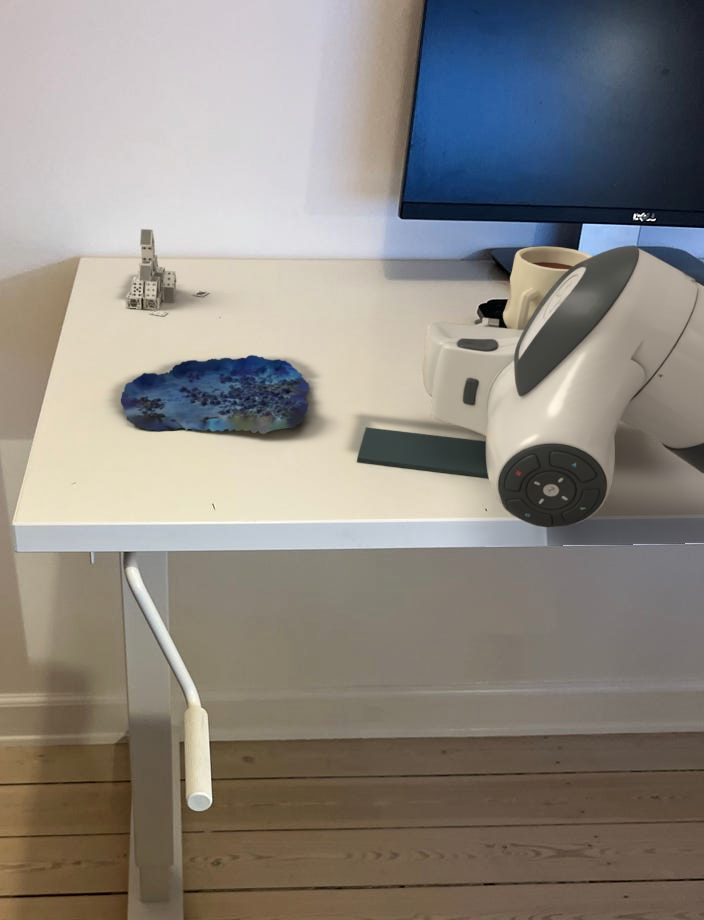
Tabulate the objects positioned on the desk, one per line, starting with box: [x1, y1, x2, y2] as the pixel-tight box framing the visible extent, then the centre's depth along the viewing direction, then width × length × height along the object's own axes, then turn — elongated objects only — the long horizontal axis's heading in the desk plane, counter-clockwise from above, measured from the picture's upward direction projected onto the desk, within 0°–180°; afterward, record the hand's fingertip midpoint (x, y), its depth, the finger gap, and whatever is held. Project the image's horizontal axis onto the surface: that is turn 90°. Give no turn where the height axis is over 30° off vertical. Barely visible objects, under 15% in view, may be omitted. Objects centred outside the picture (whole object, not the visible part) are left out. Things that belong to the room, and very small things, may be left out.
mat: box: [356, 426, 489, 479], centre depth 84 cm, size 14×6×1 cm, turn 77°
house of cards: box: [125, 228, 210, 317], centre depth 111 cm, size 9×9×8 cm
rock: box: [120, 354, 310, 435], centre depth 92 cm, size 15×17×2 cm
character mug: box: [502, 245, 594, 330], centre depth 90 cm, size 11×7×13 cm, turn 140°
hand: (543, 331), depth 89 cm, fingers open, 8 cm apart
